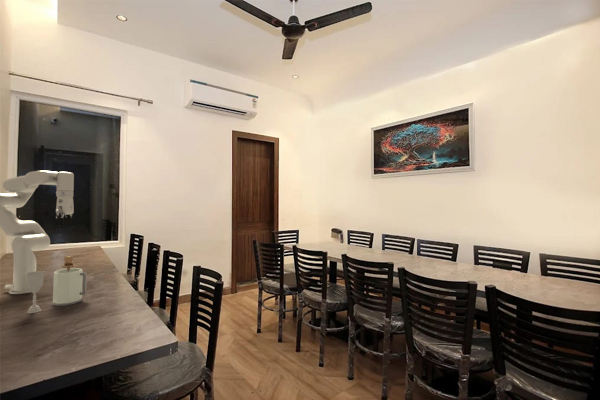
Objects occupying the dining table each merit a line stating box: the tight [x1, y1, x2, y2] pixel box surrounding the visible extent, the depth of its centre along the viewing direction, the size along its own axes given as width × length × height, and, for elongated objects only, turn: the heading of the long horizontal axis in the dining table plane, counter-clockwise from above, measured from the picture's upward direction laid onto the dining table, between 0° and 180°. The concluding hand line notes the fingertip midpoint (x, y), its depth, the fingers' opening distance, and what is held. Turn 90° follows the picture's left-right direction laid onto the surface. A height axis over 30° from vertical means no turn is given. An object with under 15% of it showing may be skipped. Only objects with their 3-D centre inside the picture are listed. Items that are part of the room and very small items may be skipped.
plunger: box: [61, 255, 76, 273], centre depth 152 cm, size 6×6×21 cm
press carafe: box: [52, 267, 88, 307], centre depth 152 cm, size 14×12×16 cm
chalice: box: [25, 270, 46, 314], centre depth 139 cm, size 7×7×18 cm
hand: (64, 224), depth 166 cm, fingers open, 9 cm apart
